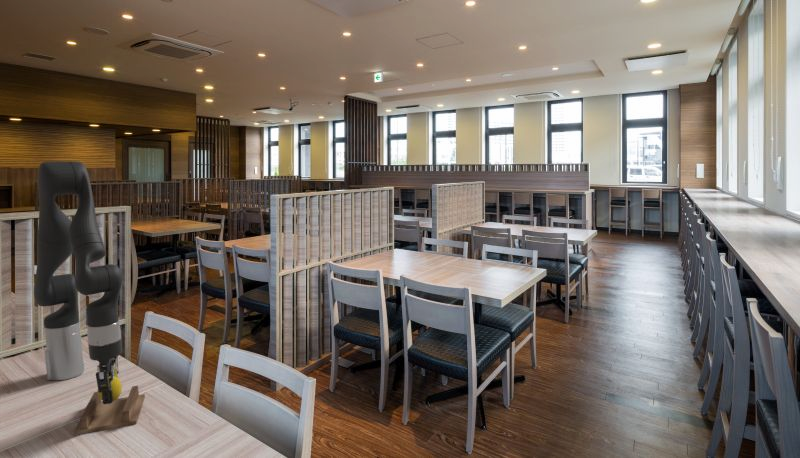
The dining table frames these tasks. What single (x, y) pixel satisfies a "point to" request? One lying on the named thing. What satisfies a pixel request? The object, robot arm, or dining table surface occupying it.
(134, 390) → the cradle
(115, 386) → the lemon
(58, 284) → the robot arm
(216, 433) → the dining table surface
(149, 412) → the dining table surface
